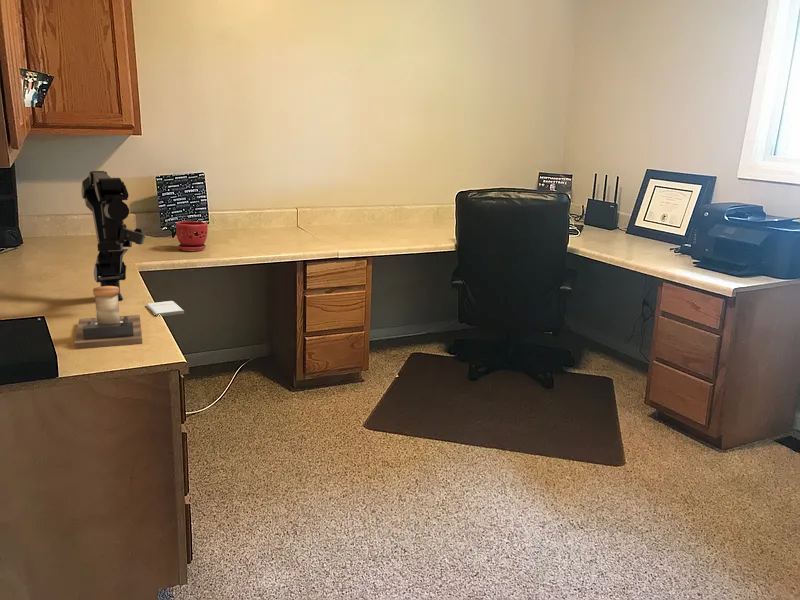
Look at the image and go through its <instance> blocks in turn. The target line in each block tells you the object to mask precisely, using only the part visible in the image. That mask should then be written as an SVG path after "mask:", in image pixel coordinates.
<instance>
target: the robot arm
mask: <svg viewBox="0 0 800 600" xmlns="http://www.w3.org/2000/svg"><path fill="white" fill-rule="evenodd" d="M81 197H82V199H84V202H85V206H86V207H87V208H88V209H89V210H90V211H91V213H92V217H93V222H94V229H95V234H96V239H97V241H96V242H97V244H96V245H97V247H96V248H97V252H98V254H97V256H96V260H95V263H94V269H93V278H94V281H95V282H96V283H98V284H100V285H99V287H102V286H116V287H119V294H118V301H123V299H124V297H123V295H122V294H121V283H120V281H126V279H127V277H126V276H127V274H126V272H127V265H126V264H125V262H124V261H123V258H124V255H125V254H126V253H127V252H128V251H129V248H132V247H133V243H134V244H136V245H143V244H144V241H145V239H146V233H144V232H143V231H144V230H143V229H142V228H139V227H136V228H135V229H134V230H133V229H129V228H128V227H127V224H126V223H124V220H126V219H127V218H128V217H129V214H130V208H129V205H128V204H126V202H124V201H128V198H129V193H128V189H127V186H126V185H125V182H124V181H122V179H121V177H111V176H110V175H108V173H107V171H104V170H91V171H89V172H88V176H87V177H86V178H85V179H84V180H82V182H81ZM124 248H125V249H124Z"/></svg>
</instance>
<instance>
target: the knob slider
mask: <svg viewBox="0 0 800 600" xmlns="http://www.w3.org/2000/svg"><path fill="white" fill-rule="evenodd" d="M92 294H93V296H94V297H95V310H96V311H95V312H96V318H97V323H95V325H96V324H110V323H123V321H120V316H121V315H120V306H119V300H118V294H119V287H116V286H102V287H101V286H97V287H95V288H93V289H92Z"/></svg>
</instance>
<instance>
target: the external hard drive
mask: <svg viewBox="0 0 800 600" xmlns="http://www.w3.org/2000/svg"><path fill="white" fill-rule="evenodd" d="M146 308H147V309H148V310H149V309H150V310H151V311H152V312H153V313H152V312H151V311H150V310H149V311H150V312H151V313H152V314H153V315H154V314H155V315H156V316H158V315H159V314H160V315H161V316H160V315H159V317H167V316H173V315H174V316H175V315H183V314H185V310H184V309H182V308H181V307H180V306H179V305H178V304H177V303H176V302H175V301H173V300H168V301H167V300H166V301H160V302H159V301H158V302H148V303H146ZM155 315H154V316H155ZM156 316H155V317H156Z"/></svg>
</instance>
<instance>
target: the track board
mask: <svg viewBox="0 0 800 600" xmlns="http://www.w3.org/2000/svg"><path fill="white" fill-rule="evenodd" d="M119 316H120V321H123V323H124V316H125V315H119ZM127 316H128V322H133V333H134V336H128V337H115V338H102V339H89V340H84V337H83V325H90V322H91V318H92V317H89V318H87V317H86V318H78V325H77V329H76V334H75V340H74V350H75V349H77V350H78V349H90V348H91V349H92V348H101V347H112V346H113V347H115V346H124V345H125V346H127V345H139V344H143V335H142V325H141V314H134V315H133V314H132V315H130V314H129V315H127ZM94 318H95V323H97V317H94Z"/></svg>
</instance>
